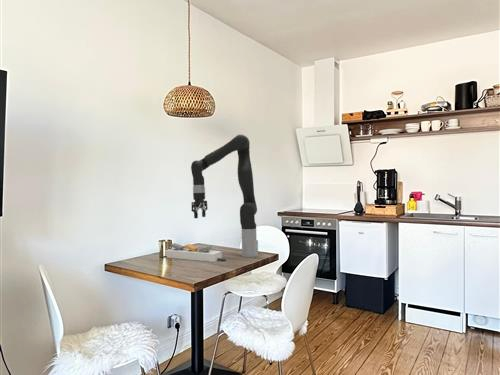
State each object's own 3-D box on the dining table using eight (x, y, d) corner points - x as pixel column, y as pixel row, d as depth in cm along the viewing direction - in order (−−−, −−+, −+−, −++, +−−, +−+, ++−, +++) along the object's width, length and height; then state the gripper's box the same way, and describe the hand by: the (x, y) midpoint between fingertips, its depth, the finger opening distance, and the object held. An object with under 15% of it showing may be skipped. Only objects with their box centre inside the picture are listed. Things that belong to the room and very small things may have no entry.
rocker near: (212, 248, 218) (211, 245, 218) (208, 249, 215) (208, 247, 215) (202, 250, 221) (202, 247, 221) (199, 251, 218) (198, 249, 218)
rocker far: (183, 248, 228) (183, 246, 228) (179, 250, 224) (179, 247, 224) (174, 245, 231) (174, 243, 231) (170, 246, 227) (170, 244, 227)
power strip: (228, 259, 216) (228, 251, 216) (221, 262, 208) (221, 253, 208) (171, 254, 235) (170, 246, 235) (162, 256, 227) (161, 249, 227)
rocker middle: (197, 250, 223) (198, 247, 223) (194, 251, 219) (194, 248, 219) (188, 246, 226) (189, 244, 226) (184, 247, 222) (185, 245, 222)
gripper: (197, 192, 222) (198, 218, 222) (210, 191, 235) (211, 216, 235) (187, 192, 225) (188, 218, 226) (200, 191, 238) (201, 216, 238)
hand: (200, 217), depth 230 cm, fingers open, 8 cm apart
